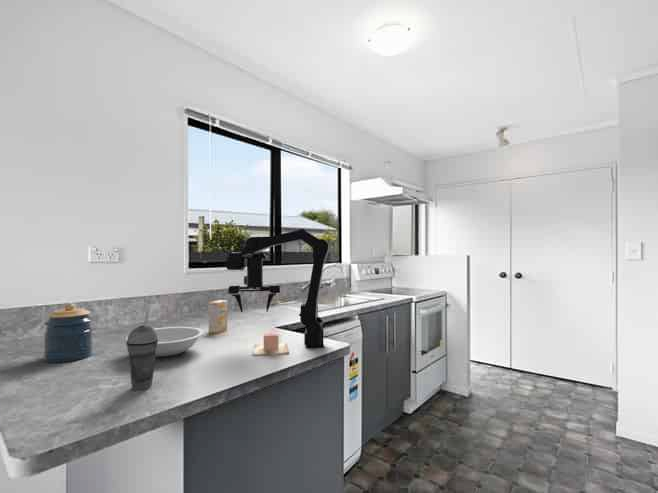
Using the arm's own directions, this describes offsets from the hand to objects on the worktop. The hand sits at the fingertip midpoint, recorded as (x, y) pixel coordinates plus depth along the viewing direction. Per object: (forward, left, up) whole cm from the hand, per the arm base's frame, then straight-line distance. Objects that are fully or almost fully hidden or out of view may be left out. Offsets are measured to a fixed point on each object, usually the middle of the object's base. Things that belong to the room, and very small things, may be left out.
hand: (254, 312), depth 133 cm
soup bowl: (+29, +8, -12) cm, 33 cm away
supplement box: (+16, -24, -12) cm, 31 cm away
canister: (+59, +7, -12) cm, 61 cm away
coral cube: (-6, +9, -11) cm, 16 cm away
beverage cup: (+27, +38, -12) cm, 48 cm away
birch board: (-6, +9, -12) cm, 16 cm away
